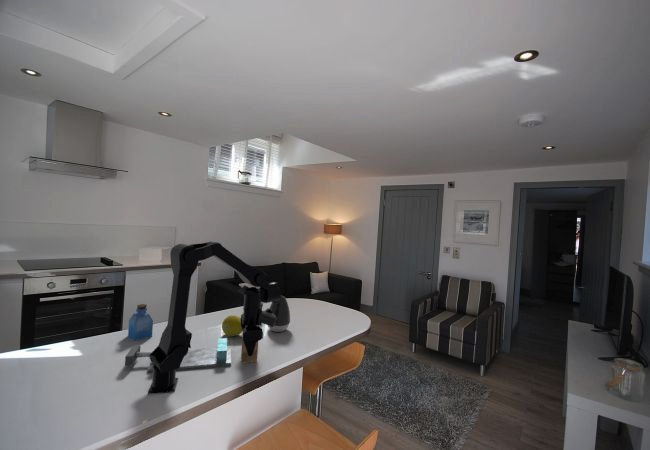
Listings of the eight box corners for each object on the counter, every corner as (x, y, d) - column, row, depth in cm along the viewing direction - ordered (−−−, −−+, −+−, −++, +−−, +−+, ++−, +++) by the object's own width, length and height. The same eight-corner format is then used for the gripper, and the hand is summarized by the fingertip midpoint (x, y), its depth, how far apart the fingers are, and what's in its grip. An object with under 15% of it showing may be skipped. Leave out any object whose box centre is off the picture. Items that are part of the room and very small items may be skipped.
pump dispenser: (261, 328, 131) (263, 294, 131) (281, 324, 138) (283, 291, 138) (273, 336, 123) (276, 299, 123) (294, 331, 130) (296, 296, 130)
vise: (147, 372, 89) (148, 357, 89) (156, 354, 101) (157, 340, 101) (230, 365, 97) (231, 351, 97) (230, 349, 108) (231, 336, 108)
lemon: (216, 334, 121) (218, 314, 121) (233, 329, 127) (234, 311, 127) (231, 342, 114) (233, 321, 114) (248, 337, 120) (250, 317, 120)
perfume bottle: (145, 332, 118) (147, 302, 118) (152, 336, 114) (154, 305, 114) (128, 336, 114) (129, 304, 113) (133, 341, 110) (135, 308, 109)
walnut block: (256, 361, 101) (258, 338, 101) (241, 362, 99) (243, 339, 99) (255, 354, 106) (257, 332, 106) (241, 356, 104) (242, 333, 104)
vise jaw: (123, 368, 88) (124, 357, 88) (133, 353, 98) (134, 343, 98) (164, 365, 92) (165, 354, 92) (170, 351, 101) (171, 341, 101)
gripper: (280, 312, 96) (276, 360, 96) (272, 297, 114) (269, 337, 114) (244, 314, 92) (241, 363, 93) (241, 297, 110) (239, 339, 110)
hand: (249, 349), depth 102 cm, fingers open, 9 cm apart
